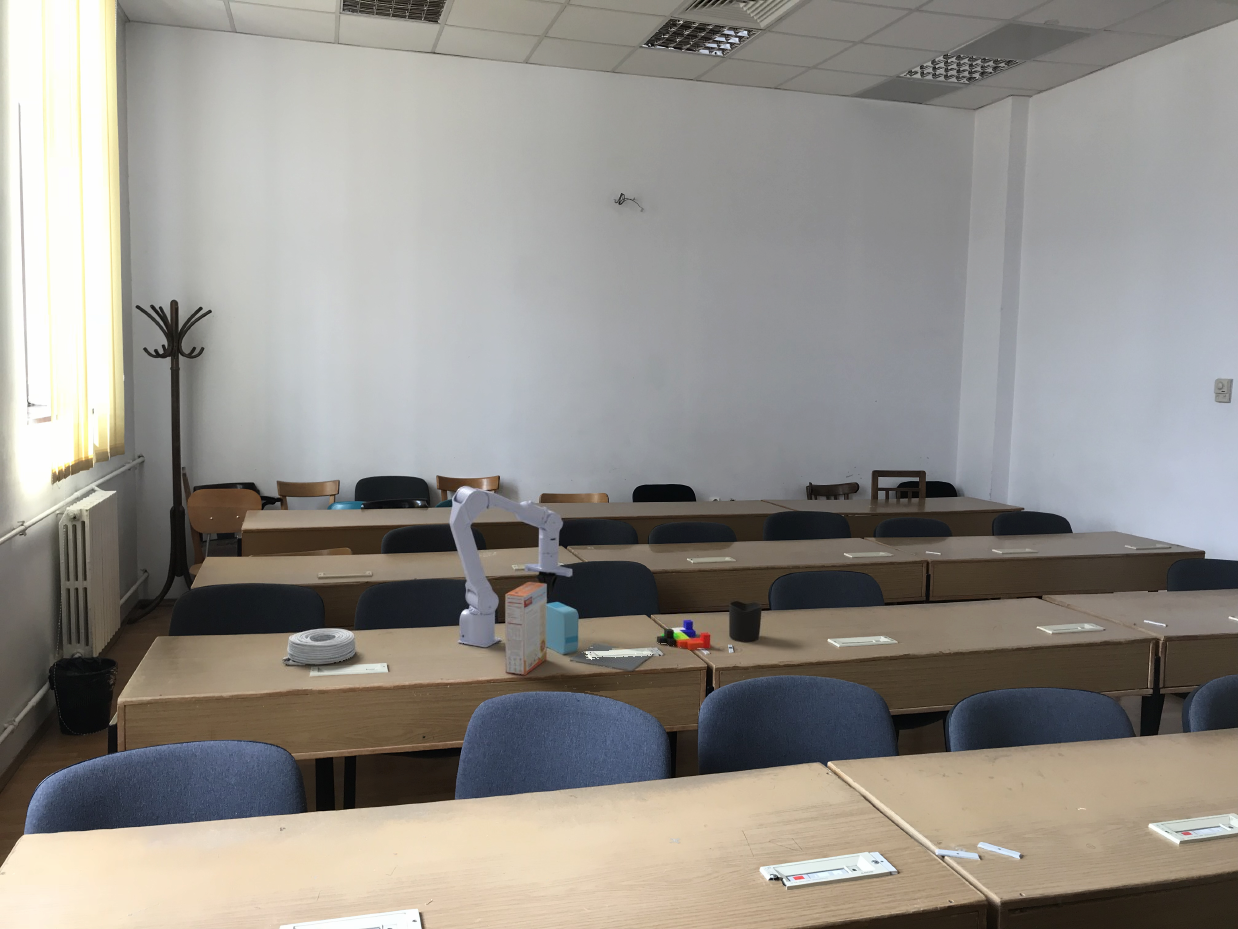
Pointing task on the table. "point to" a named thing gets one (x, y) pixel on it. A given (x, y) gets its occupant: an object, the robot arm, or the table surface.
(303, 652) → the cable
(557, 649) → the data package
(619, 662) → the mat
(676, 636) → the building blocks
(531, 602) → the cracker box
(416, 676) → the table surface
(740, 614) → the pen holder
